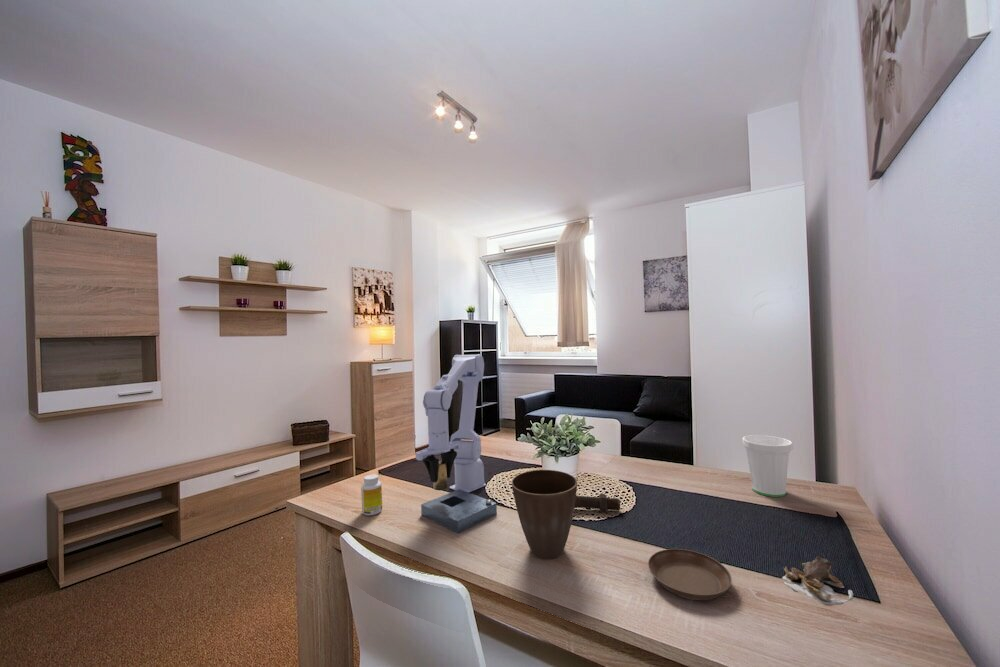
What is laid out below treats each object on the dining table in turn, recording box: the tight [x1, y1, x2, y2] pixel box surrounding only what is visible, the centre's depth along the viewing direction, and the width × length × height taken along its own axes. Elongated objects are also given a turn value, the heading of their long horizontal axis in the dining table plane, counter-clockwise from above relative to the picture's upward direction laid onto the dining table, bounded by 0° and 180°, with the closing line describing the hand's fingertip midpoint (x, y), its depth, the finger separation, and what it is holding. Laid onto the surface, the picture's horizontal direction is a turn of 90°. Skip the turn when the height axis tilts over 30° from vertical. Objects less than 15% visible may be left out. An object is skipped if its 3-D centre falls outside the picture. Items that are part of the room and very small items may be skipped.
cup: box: [741, 434, 794, 498], centre depth 118 cm, size 12×12×15 cm
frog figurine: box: [781, 555, 854, 605], centre depth 76 cm, size 12×12×4 cm
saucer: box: [647, 548, 733, 601], centre depth 78 cm, size 15×15×3 cm
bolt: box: [574, 493, 621, 514], centre depth 110 cm, size 6×5×15 cm
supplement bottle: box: [360, 474, 383, 517], centre depth 115 cm, size 6×6×10 cm
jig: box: [420, 489, 498, 534], centre depth 111 cm, size 14×16×4 cm
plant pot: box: [511, 469, 578, 560], centre depth 91 cm, size 15×15×16 cm
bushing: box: [432, 460, 449, 491], centre depth 113 cm, size 4×4×7 cm
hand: (440, 479), depth 113 cm, fingers closed on bushing, 4 cm apart
